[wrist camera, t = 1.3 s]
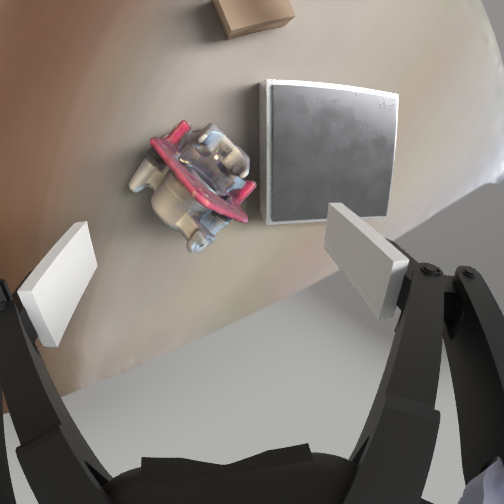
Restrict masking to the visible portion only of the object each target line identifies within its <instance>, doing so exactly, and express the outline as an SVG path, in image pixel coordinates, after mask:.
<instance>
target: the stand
mask: <svg viewBox="0 0 504 504" xmlns="http://www.w3.org/2000/svg"><path fill="white" fill-rule="evenodd" d="M397 117H398V95H397V94H393V93H388V92H382V91H377V90H371V89H365V88H359V87H352V86H345V85H337V84H328V83H318V82H306V81H292V80H269V79H266V80H264V81H262V82H259V118H260V214H261V216H262V218H263V220H264V221H265V223H266V225H275V224H291V223H307V222H324V221H327V214H328V203H342V204H344V205H345V206H346V207H347V208H349V209H350V210H351V211H352V212H354V213H355V214H356V215H357V216H359V217H360V218H361V219H384V218H387V214H388V208H389V201H390V194H391V186H392V178H393V169H394V159H395V147H396V134H397Z"/></svg>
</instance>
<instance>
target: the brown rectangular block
mask: <svg viewBox="0 0 504 504" xmlns="http://www.w3.org/2000/svg"><path fill="white" fill-rule="evenodd" d="M212 3H213V6H214V8H215V10H216V13H217V15H218V18H219V20H220V22H221V25H222V27H223V30H224V32H225V35H226V37H227V40H229V39H233V38H236V37H240V36H244V35H247V34H251V33H255V32H259V31H263V30H268V29H272V28H277V27H281V26H285V25H286V24H287V23H288V22H289V21H290V20H291V19H293V18H294V17H295V14H294V12H293V10H292V7H291V5H290V3H289V0H212Z"/></svg>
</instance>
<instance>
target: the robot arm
mask: <svg viewBox="0 0 504 504" xmlns="http://www.w3.org/2000/svg"><path fill="white" fill-rule="evenodd" d="M324 248H325V250H326V251H327V252H328V254H329V255H330V256H331V257H332V259H333V260H334V261H335V263H336V264H337V265H338V267H339V268H340V269H341V270H342V272H343V273H344V274H345V276H346V277H347V278H348V280H349V281H350V282H351V284H352V285H353V286H354V287H355V289H356V290H357V292H358V293H359V294H360V296H361V297H362V298H363V300H364V301H365V303H366V304H367V305H368V307H369V308H370V309H371V311H372V312H373V313H374V315H375V316H376V318H377V319H378V320H381V319H386V318H391V317H393V315H394V312H395V309H396V306H398V307H399V308H400V309H401V314H400V317H399V320H398V323H397V326H396V328H395V336H394V340H393V343H392V347H391V351H390V354H389V357H388V360H387V364H386V367H385V370H384V373H383V377H382V380H381V382H380V385H379V388H378V391H377V394H376V397H375V400H374V403H373V405H372V408H371V410H370V413H369V416H368V418H367V421H366V423H365V426H364V428H363V430H362V433H361V435H360V438H359V440H358V442H357V445H356V447H355V449H354V451H353V452H352V454H351V456H350V458H349V460H347V459H345V458H342V457H339V456H336V455H331V454H326V453H312V452H311V451H310V448H309V445H308V443H306V444H301V445H296V446H292V447H286V448H281V449H274V450H268V451H265V452H262V453H260V454H257V455H254V456H252V457H249V458H246V459H243V460H240V461H237V462H234V463H231V464H227V465H220V464H213V463H207V462H201V461H195V460H190V459H185V458H150V457H142V460H141V467H139V468H135V469H132V470H129V471H126V472H124V473H122V474H120V475H118V476H116V477H114V478H112V476H111V475H110V474H109V473H108V472H107V471H106V470H105V468H104V467H103V466H102V465H101V463H100V462H99V460H98V459H97V458H96V456H95V454H94V453H93V451H92V450H91V448H90V447H89V445H88V444H87V443H86V441H85V439H84V438H83V436H82V435H81V433H80V431H79V429H78V428H77V426H76V424H75V423H74V421H73V419H72V418H71V416H70V414H69V412H68V410H67V409H66V407H65V405H64V403H63V401H62V399H61V397H60V395H59V394H58V392H57V390H56V388H55V386H54V384H53V381H52V379H51V377H50V375H49V373H48V371H47V369H46V366H45V364H44V362H43V360H42V357H41V355H40V352H39V350H38V348H37V346H36V344H35V340H36V338H37V336H38V337H39V339H40V341H41V343H42V345H43V347H58V345H59V343H60V341H61V338H62V336H63V334H64V332H65V329H66V327H67V325H68V323H69V321H70V319H71V317H72V315H73V313H74V310H75V308H76V306H77V304H78V302H79V300H80V298H81V296H82V294H83V293H84V291H85V289H86V287H87V285H88V283H89V281H90V279H91V277H92V275H93V274H94V272H95V270H96V268H97V266H98V265H97V262H96V258H95V254H94V250H93V246H92V242H91V238H90V233H89V229H88V225H87V221H84V222H76V223H74V224H73V225H72V226H71V227H70V228H69V230H68V231H67V232H66V233H65V234H64V235H63V236H62V237H61V238H60V239H59V241H58V242H57V243H56V244H55V245H54V246H53V247H52V249H51V250H50V251H49V252H48V253H47V254H46V256H45V257H44V258H43V259H42V260H41V262H40V263H39V264H38V265H37V266H36V268H34V269H33V270H32V271H30V272H29V274H28V275H27V276H26V277H25V279H24V280H23V281H22V282H21V284H20V285H19V286H18V288H17V289H16V290H15V292H14V293H13V294H12V295H11V293H10V290H9V288H8V285H7V283H6V281H5V280H4V279H0V504H16V501H15V497H14V492H13V488H12V483H11V478H10V472H9V466H8V460H7V453H6V446H5V435H4V424H3V402H2V388H3V392H4V396H5V399H6V403H7V406H8V409H9V412H10V416H11V419H12V421H13V424H14V427H15V430H16V433H17V435H18V438H19V441H20V444H21V445H20V446H19V447H17V448H16V454H17V458H18V460H19V463H20V465H21V467H22V469H23V472H24V474H25V476H26V479H27V481H28V483H29V485H30V487H31V489H32V491H33V493H34V495H35V497H36V499H37V501H38V503H39V504H433V503H431V502H429V501H426V500H424V499H422V498H421V496H422V492H423V489H424V486H425V483H426V479H427V475H428V472H429V469H430V465H431V460H432V457H433V452H434V448H435V444H436V438H437V433H438V429H439V424H440V412H439V411H437V410H434V408H435V400H436V394H437V388H438V380H439V372H440V363H441V352H442V339H444V343H445V348H446V352H447V357H448V361H449V366H450V371H451V377H452V382H453V388H454V393H455V400H456V406H457V414H458V422H459V432H460V443H461V457H462V467H463V474H464V479H465V484H466V487H465V489H464V492H463V497H462V498H460V500H459V502H458V504H504V316H503V314H502V312H501V310H500V308H499V306H498V304H497V302H496V300H495V299H494V297H493V295H492V293H491V291H490V290H489V288H488V286H487V284H486V283H485V281H484V279H483V277H482V276H481V274H480V273H479V272H478V271H476V270H475V269H474V268H472V267H470V266H468V267H467V266H459V267H458V268H457V269H456V272H455V275H454V276H446V275H444V274H443V272H442V270H441V269H440V268H438V267H436V266H434V265H432V264H429V263H418V262H417V261H415V260H414V259H413V258H412V257H411V256H410V255H409V254H407V253H405V251H404V250H403V249H401V248H400V247H399V246H398V245H397V244H396V243H395V242H393V241H391V240H389V239H387V238H384V237H383V236H382V235H380V234H379V233H378V232H377V231H376V230H374V229H373V228H372V227H371V226H370V225H368V224H367V223H366V222H365V221H364V220H362V219H361V218H360V217H359V216H357V215H356V214H355V213H354V212H352V211H351V210H350V209H349V208H347V207H346V206H345V205H344V204H342V203H328V214H327V225H326V236H325V245H324Z"/></svg>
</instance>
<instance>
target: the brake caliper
mask: <svg viewBox="0 0 504 504" xmlns="http://www.w3.org/2000/svg"><path fill="white" fill-rule="evenodd" d="M150 144H151V146H152V148H151V149H150V150H149V151H148V153H147V155H146V157H145V158H144V160H143V161H142V163H141V164H140V166H139V167H138V169H137V170H136V172H135V173H134V174H133V176H132V178H131V180H130V182H129V184H128V186H129V188H130V190H132V191H133V192H135V193H137V192H139V191H140V190H142V189H144V188H146V187H150V188H151V189H152V190H153V192H154V194H153V195H152V197H151V206H152V208H153V211H154V212H155V214H156V215H157V216H158V217H159V218H160V219H161V220H162V221H163V222H164V223H165V224H166V225H167V226H169V227H171V228H172V229H174V230H177V231H179V232H181V233H182V234H183V236H184V237H185V238H186V240H187V241H188V243H187V248H188V251H189V252H200V251H202V250H203V249H204V248H206V247H207V246H209V245H210V244H211V243H213V242H214V241H215V236H214V235H215V234H216V233H217V232H218V231H219V230H220V229H221V228H222V227H223V226H225V225H226V224H228V223H229V222H230V220H231V219H232V218H233V219H234V220H236V221H240V222H242V223H247V222H248V216H247V215H246V214H245V212H244V211H243V210H242V209H241V203H242V201H243V200H244V199H245V198H246V197H247V196H248V195H249V194H250V193H251V192H252V191H253V190H254V189H255V188H256V186H257V185H256V183H255V182H254V181H251V180H243V179H242V178H245V177H246V176H247V175H248V173H249V167H250V165H249V163H250V158H249V156H248V155H247V154H246V153H245V152H244V151H243V150H242V149H241V148H240V147H239V146H237V145H236V144H234V143H233V142H232V141H231V140H230V139H229V138H228V137H227V136H226V135H225V134H224V133H223V132H222V131H221V130H220V129H219V128H218V127H217V126H216V125H215V124H214V123H210V124H209V125H208V126H206V127H205V128H203V129H202V130H200V131H198V132H193V131H192V130H191V124H190V123H188V122H187V121H185V120H182V121H181V122H180V123H178V124H176V126H175V128H174V130H173V131H172V132H171V133H170V134H168V135H164V136H162V137H161V138H156V137H153V138H151V139H150Z"/></svg>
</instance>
